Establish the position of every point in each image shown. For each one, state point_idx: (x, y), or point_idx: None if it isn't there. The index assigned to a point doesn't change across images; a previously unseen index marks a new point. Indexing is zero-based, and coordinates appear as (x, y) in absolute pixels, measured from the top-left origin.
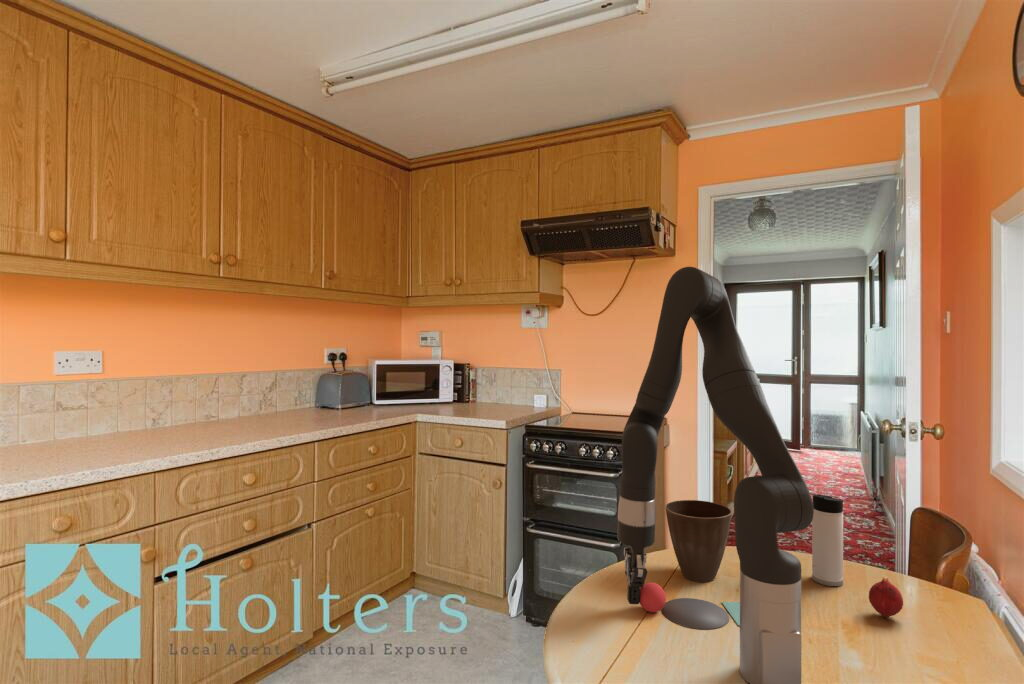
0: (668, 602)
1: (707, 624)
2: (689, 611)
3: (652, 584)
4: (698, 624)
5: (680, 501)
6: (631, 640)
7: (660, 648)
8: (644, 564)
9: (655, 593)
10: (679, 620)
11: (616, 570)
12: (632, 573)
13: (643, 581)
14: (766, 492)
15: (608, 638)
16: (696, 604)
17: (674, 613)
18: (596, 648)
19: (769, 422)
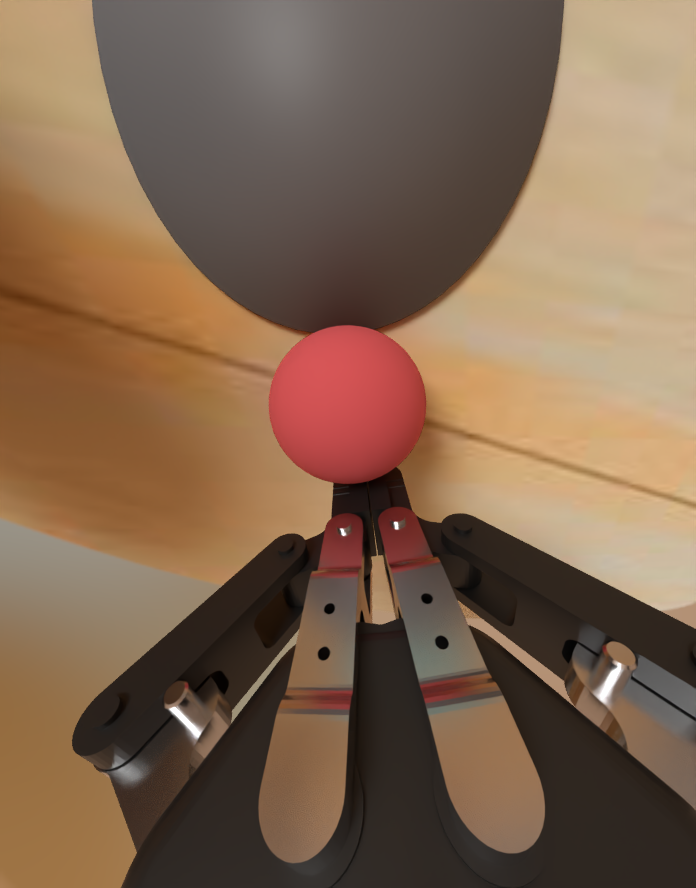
0: (242, 292)
1: (505, 9)
2: (325, 153)
3: (358, 444)
4: (500, 102)
5: None
6: (590, 462)
7: (679, 365)
8: (485, 665)
9: (414, 412)
10: (447, 244)
11: (5, 504)
12: (563, 672)
13: (554, 563)
14: None
15: (562, 521)
16: (199, 66)
17: (367, 267)
18: (613, 545)
19: None
